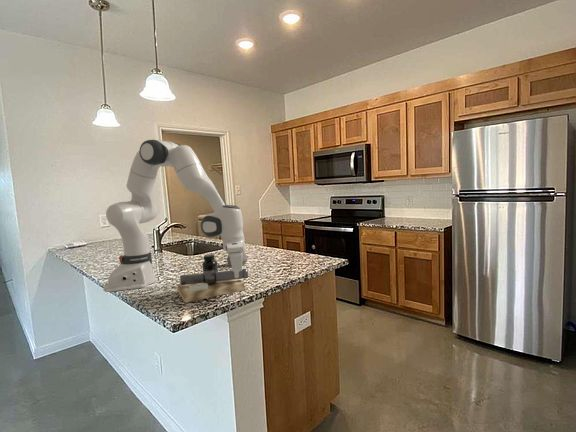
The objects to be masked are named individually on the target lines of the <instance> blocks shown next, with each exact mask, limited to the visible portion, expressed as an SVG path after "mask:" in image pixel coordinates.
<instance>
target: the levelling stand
mask: <svg viewBox="0 0 576 432" xmlns="http://www.w3.org/2000/svg"><path fill="white" fill-rule="evenodd" d="M245 290H246V289H245V282H244V281H242V279H234V280H225V281H216V283H215V284H212V285H208V284H207V283H196V284H187V285H181V283H180V284H179V283H178V284H177V292H178V294H179V295H180V298H181V299H182V300H183V302H184V303H190V302H194V301H199V300H203V299H209V298H212V297H218V296H223V295H227V294H232V293H237V292H242V291H245Z"/></svg>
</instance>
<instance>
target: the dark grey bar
mask: <svg viewBox="0 0 576 432" xmlns="http://www.w3.org/2000/svg"><path fill="white" fill-rule="evenodd" d="M248 278H249V269H248V268H242V271H239V278H235V276H234V272H233V271H232V269H230V270H220V271H218V272H216V271H215V270H206V271H204V272H203V271H202V273H192V274H181V275H179V280H180V284H181V285H187V284H196V283H207V284H208V285H212V284H215V283H216V281H225V280H234V279H239V280H243V279H248Z"/></svg>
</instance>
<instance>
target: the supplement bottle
mask: <svg viewBox="0 0 576 432" xmlns="http://www.w3.org/2000/svg"><path fill="white" fill-rule="evenodd" d="M201 266H202V273H203V272H204V271H206V270H215V271H216V272H219V268H218V261H217V260H216V259H215V254H206V255H204V256H203V262H202V264H201Z"/></svg>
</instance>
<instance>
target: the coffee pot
mask: <svg viewBox="0 0 576 432" xmlns="http://www.w3.org/2000/svg"><path fill="white" fill-rule="evenodd" d="M248 259H249V258H248V256H247V255H246V252H245V250H244V251H242V266H243V265H245V264H246V263H247V261H248ZM226 263H227V264H229V265H230V266H231V262H230V257H229V254H228V255H227V258H226Z"/></svg>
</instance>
